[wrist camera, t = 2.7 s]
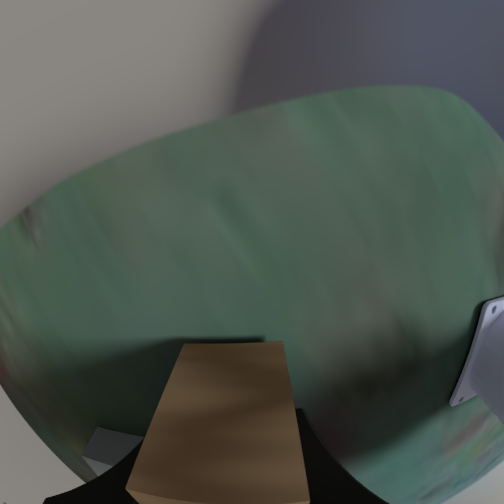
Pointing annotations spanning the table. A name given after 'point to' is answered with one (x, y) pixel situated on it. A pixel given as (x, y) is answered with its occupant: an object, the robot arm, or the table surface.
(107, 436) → the tray
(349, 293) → the table surface
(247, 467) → the walnut block
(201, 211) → the table surface
